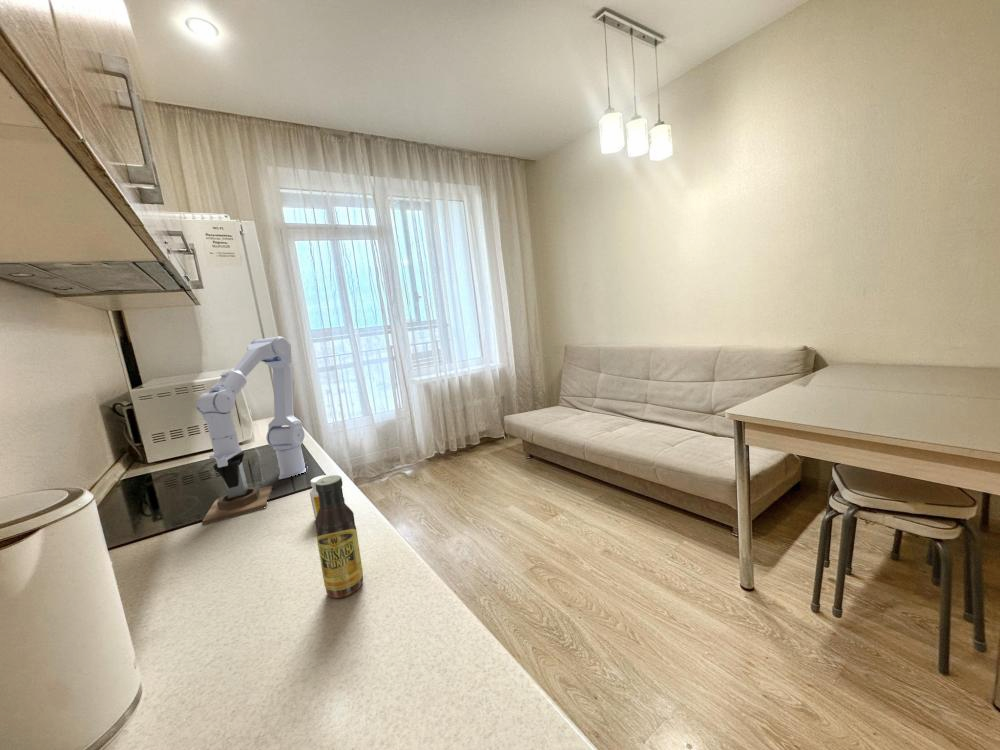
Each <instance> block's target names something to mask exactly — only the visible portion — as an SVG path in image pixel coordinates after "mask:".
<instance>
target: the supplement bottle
mask: <svg viewBox="0 0 1000 750" xmlns="http://www.w3.org/2000/svg"><path fill="white" fill-rule="evenodd" d="M327 476H328V475H326V474H322V475H318V476H315V477H313V478H312V479H311V480H310V485H311V487H312V488H311V489H310V491H309V496H310V502H311V506H312V510H313V515H314V519H315V520H316V517H317V514H318V511H319V508H320V506H319V504H320V502H319V496H318V492H317V491H316V484H315V483H316V482H317V481H318V480H319V479H321V478H324V477H327Z"/></svg>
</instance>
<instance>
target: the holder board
mask: <svg viewBox="0 0 1000 750" xmlns="http://www.w3.org/2000/svg"><path fill="white" fill-rule="evenodd" d="M272 488H274V487H273V485H272V484H271V485H267V486H264V487H263V486H262V487H254V486H248V490H247V492H246V494H245V495H241V496H237V497H233V498H229V499H228V496H227V493H226V494H224V495H222V496H220V497H219V498H216V499H215V501H214V502H213V504H212V505H211V507H210V508H209V510H208V511H207V513H206V514H205V516H204V517H203V519H202V521H201V523H202V525H203V526H204V525H208V524H211V522H212V523H215V522H218V521H223V520H225V519H229V518H234V517H237V516H241V515H244V514H248V512H249V513H252V512H255V510H256V511H259V510H258V509H260V510H262V509H261V508H263V509H265V508H264V507H266V506H267V507H268V504H267V500H268V497H269V495H270V492H271V490H272V491H273V489H272ZM271 493H272V492H271ZM270 496H271V495H270ZM267 507H266V508H267ZM251 511H252V512H251ZM207 523H208V524H207Z"/></svg>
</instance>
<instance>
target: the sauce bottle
mask: <svg viewBox="0 0 1000 750" xmlns="http://www.w3.org/2000/svg"><path fill="white" fill-rule="evenodd" d="M315 484H316V491H317V492H318V496H319V502H320V504H319V506H320V508H319V511H318V514H317V517H316V519H315V520H314V521H315V522H314V523H315V532H316V542H317V547H318V554H319V559H320V565H321V572H322V578H323V584H324V587H325V590H326V594H327V596H328V597H330V598H333V599H341V598H346V597H348V596H350V595H352V594H353V593H356V592H357V591H358V590H359V589H360V587H361V585H362V584H363V582H364V576H363V575H364V571H363V563H362V559H361V551H360V544H359V538H358V531H357V526H356V522H355V515H354V512H353V510H352V509H351V508H350V507H349V505H347V504H346V502H345V497H344V493H343V488H342V487H343V479H342V476H340V475H337V474H335V475H334V474H333V475H332V474H331V475H327V477H324V478H321V479H319V480H318V481H317V482H316V483H315Z"/></svg>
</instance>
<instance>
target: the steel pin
mask: <svg viewBox="0 0 1000 750" xmlns="http://www.w3.org/2000/svg"><path fill="white" fill-rule="evenodd" d="M222 479H223V478H222ZM238 480H239V482H238V486H236V487H232V488H229V487H228V486H227V484H226V483H225V481H224V479H223V484H224V488H225V491H226V494H227V496H228V499H229V498H233V497H237V496H241V495H245V494H246V492H247V490H248V487H249V486H248V482H247V477H246V474H245V471H244V466H243V461H242V462H239V466H238Z"/></svg>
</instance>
